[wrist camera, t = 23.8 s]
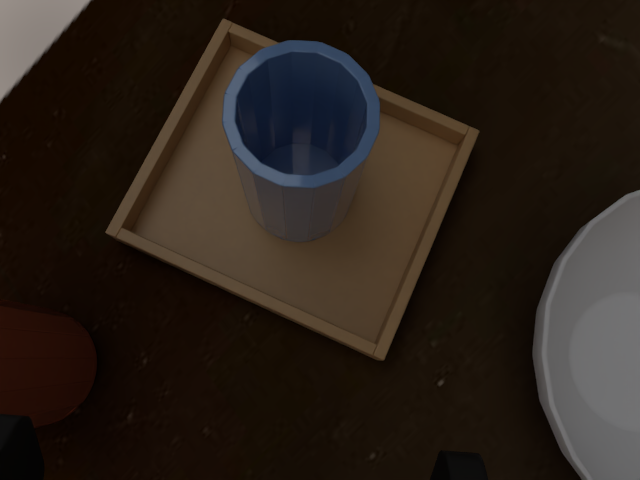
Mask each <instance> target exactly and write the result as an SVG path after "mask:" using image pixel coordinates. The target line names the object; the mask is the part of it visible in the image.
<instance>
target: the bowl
mask: <svg viewBox="0 0 640 480" xmlns="http://www.w3.org/2000/svg"><path fill="white" fill-rule="evenodd" d="M532 356H533V363H534V369H535V375H536V382H537V388H538V395H539V401H540V403H541V405H542V408H543V410H544V412H545V415H546V417H547V419H548V422H549V424H550V426H551V429H552V431H553V433H554V436H555V438H556V440H557V443H558V445H559V447H560V449H561V451H562V453H563V455H564V456H565V457H566V459H567V460H568V461H569V463H570V464H571V466H572V467H573V468H574V470H575V471H576V472H577V474H578V475H579V476H580V478H581V479H582V480H640V190H638V191H635V192H632V193H630V194H627V195H625V196H623V197H622V198H621V199H619V200H618V201H617V202H615V203H614V204H613V205H611V206H610V207H608V208H607V209H606V210H604V211H603V212H602V213H600V214H599V215H598V216H596V217H595V218H594V219H592V220H591V221H590V222H588V223H587V224H586V225H584V226H583V227H582V228H580V229H579V231H578V232H577V233H576V235H575V236H574V237H573V239H572V240H571V241H570V243H569V244H568V245H567V247H566V248H565V249H564V251H563V252H562V253H561V255H560V256H559V257H558V259H557V260H556V261H555V262H554V264H553V267H552V270H551V272H550V275H549V278H548V280H547V283H546V286H545V288H544V291H543V294H542V296H541V299H540V302H539V304H538V307H537V310H536V319H535V330H534V340H533V351H532Z"/></svg>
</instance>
